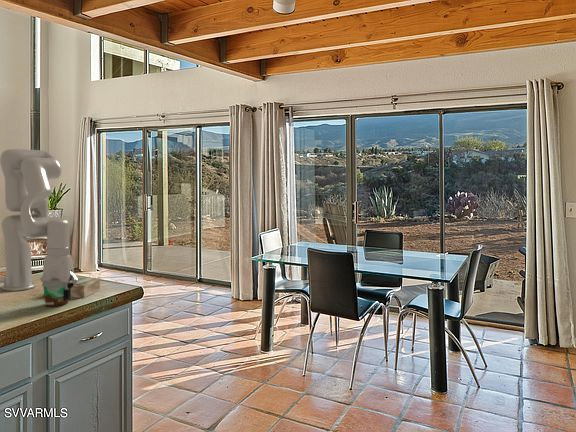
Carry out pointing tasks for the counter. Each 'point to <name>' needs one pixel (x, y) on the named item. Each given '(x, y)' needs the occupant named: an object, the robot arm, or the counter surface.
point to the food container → (54, 293)
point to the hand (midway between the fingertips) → (59, 298)
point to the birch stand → (85, 287)
